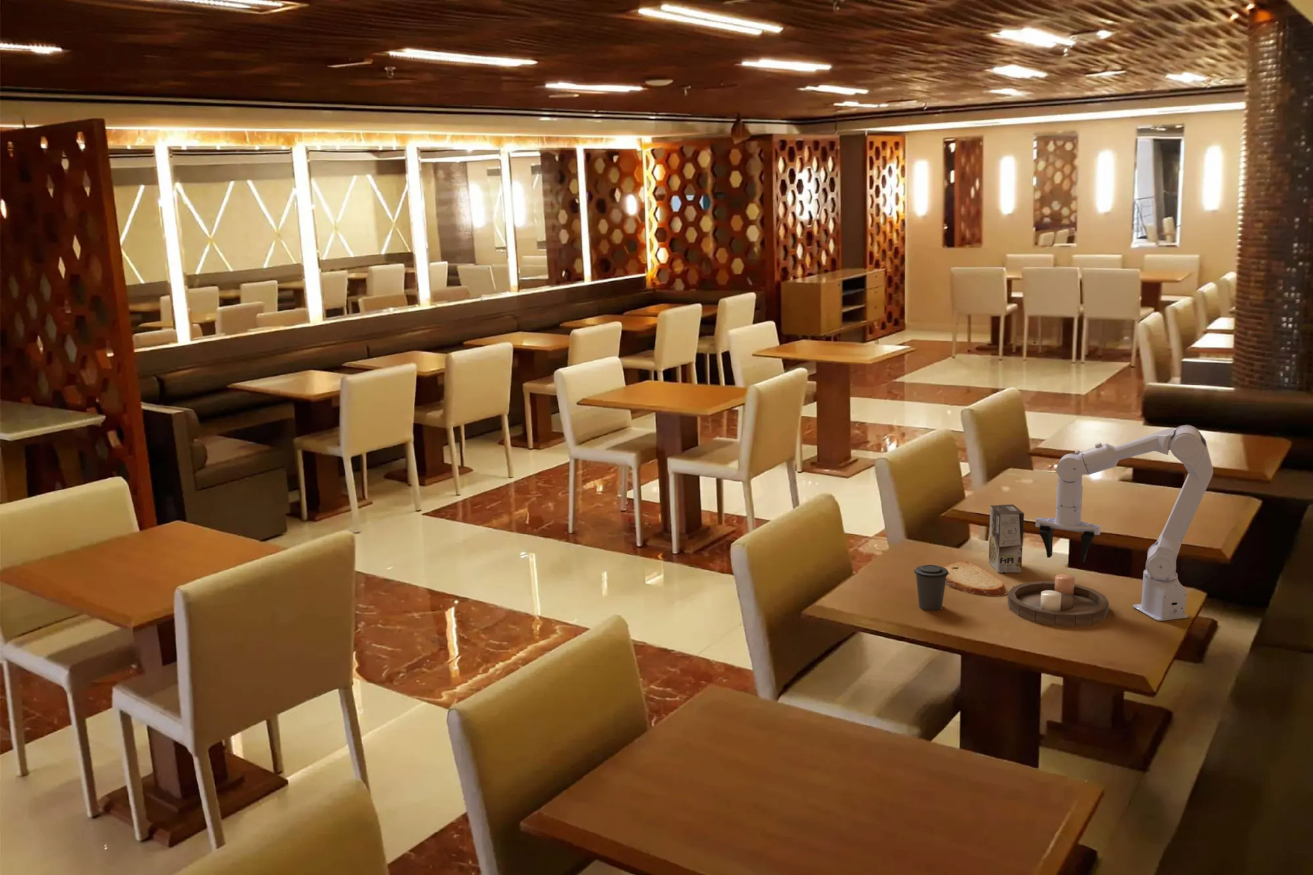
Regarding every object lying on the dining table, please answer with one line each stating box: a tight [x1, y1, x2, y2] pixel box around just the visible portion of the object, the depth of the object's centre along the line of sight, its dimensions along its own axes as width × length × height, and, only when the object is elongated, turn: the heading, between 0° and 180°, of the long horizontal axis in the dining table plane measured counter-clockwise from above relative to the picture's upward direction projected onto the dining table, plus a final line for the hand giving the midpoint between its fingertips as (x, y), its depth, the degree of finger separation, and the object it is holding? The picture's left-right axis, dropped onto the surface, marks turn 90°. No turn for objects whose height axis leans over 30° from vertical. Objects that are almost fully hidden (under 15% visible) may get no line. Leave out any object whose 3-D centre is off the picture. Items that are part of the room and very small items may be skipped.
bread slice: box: [943, 560, 1008, 597], centre depth 272 cm, size 18×18×4 cm
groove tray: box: [1007, 580, 1110, 627], centre depth 252 cm, size 22×22×3 cm
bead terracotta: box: [1054, 573, 1076, 598], centre depth 257 cm, size 4×4×5 cm
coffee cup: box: [913, 564, 949, 612], centre depth 255 cm, size 8×8×10 cm
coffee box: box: [988, 503, 1025, 574], centre depth 280 cm, size 9×6×16 cm
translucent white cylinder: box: [1040, 590, 1061, 612], centre depth 247 cm, size 4×4×5 cm
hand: (1065, 558), depth 256 cm, fingers open, 7 cm apart
